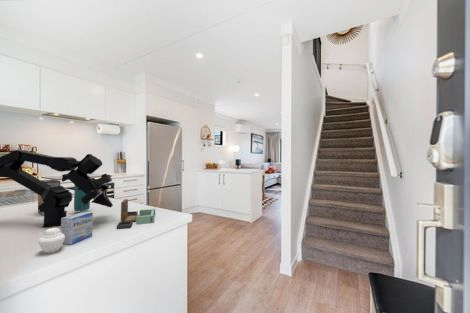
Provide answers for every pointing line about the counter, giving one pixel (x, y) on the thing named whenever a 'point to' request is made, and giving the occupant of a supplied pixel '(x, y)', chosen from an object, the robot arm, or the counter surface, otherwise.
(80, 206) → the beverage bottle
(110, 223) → the counter surface
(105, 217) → the counter surface
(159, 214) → the counter surface
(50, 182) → the coffee box
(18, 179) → the robot arm
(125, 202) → the bookend
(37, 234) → the counter surface
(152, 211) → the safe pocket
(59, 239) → the white lidded jar
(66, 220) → the medicine box
